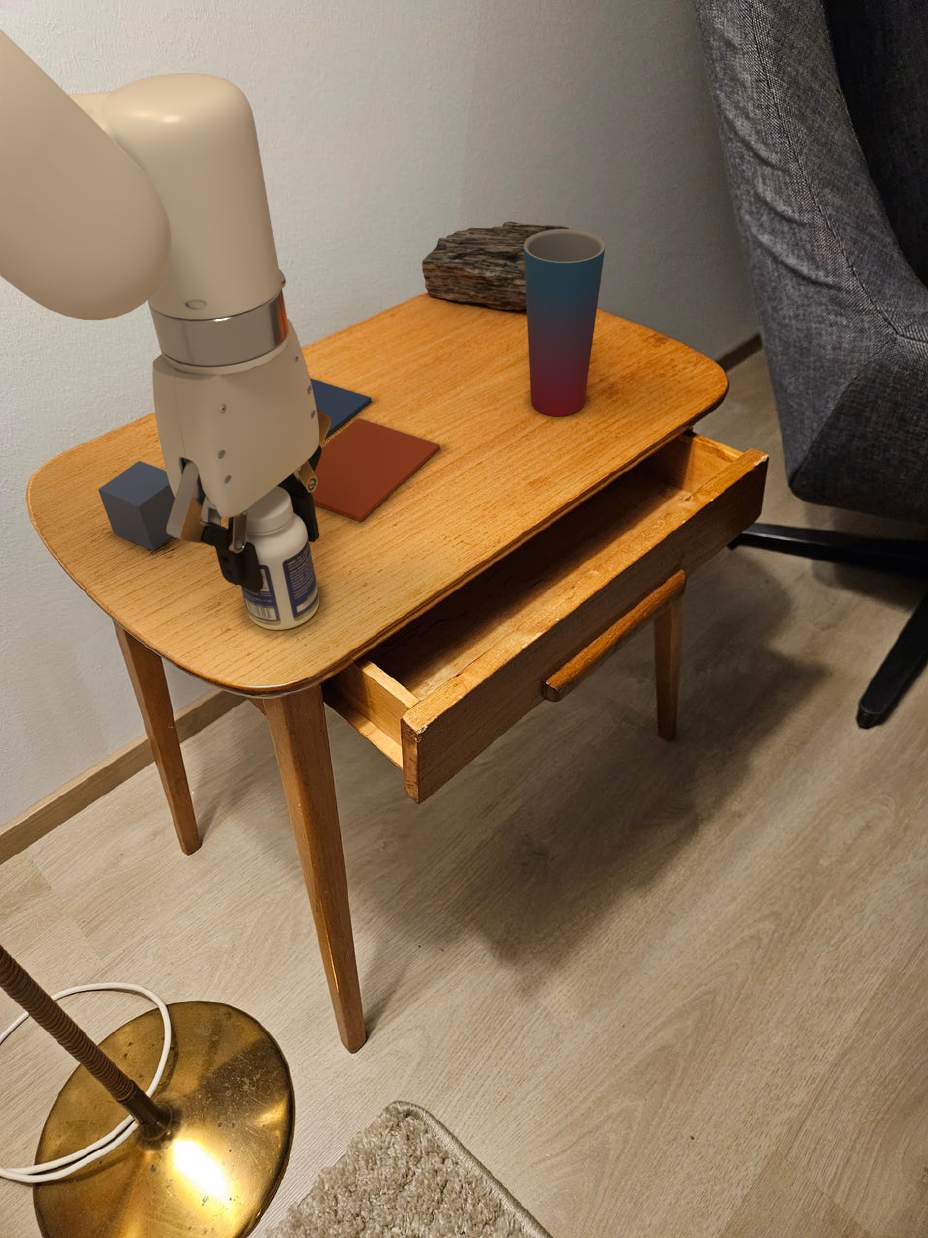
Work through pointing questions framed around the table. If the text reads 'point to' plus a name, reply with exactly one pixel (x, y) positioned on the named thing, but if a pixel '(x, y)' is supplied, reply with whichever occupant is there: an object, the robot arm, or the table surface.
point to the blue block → (139, 504)
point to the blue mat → (337, 403)
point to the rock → (482, 265)
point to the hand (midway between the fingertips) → (272, 556)
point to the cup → (561, 315)
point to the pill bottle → (280, 564)
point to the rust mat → (366, 467)
